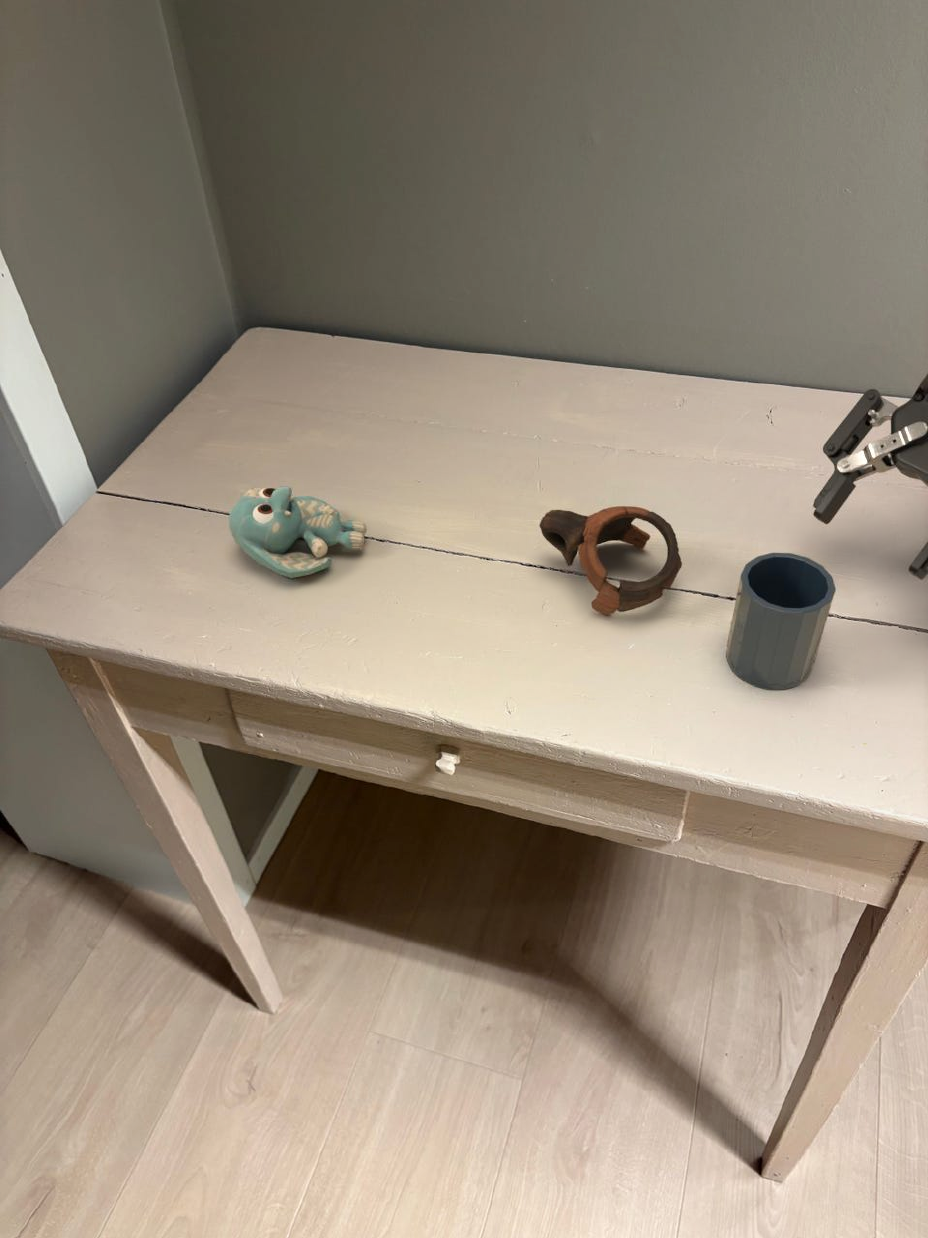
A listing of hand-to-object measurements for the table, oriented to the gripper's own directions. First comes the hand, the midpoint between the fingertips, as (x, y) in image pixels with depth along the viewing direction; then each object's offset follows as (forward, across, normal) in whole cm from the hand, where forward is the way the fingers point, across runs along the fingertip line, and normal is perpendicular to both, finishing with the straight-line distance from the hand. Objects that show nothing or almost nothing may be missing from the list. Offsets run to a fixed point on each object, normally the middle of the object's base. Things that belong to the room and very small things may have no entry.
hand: (865, 546), depth 73 cm
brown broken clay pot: (+13, -15, -4) cm, 20 cm away
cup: (+11, 0, -2) cm, 11 cm away
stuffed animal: (+26, -36, -17) cm, 47 cm away
